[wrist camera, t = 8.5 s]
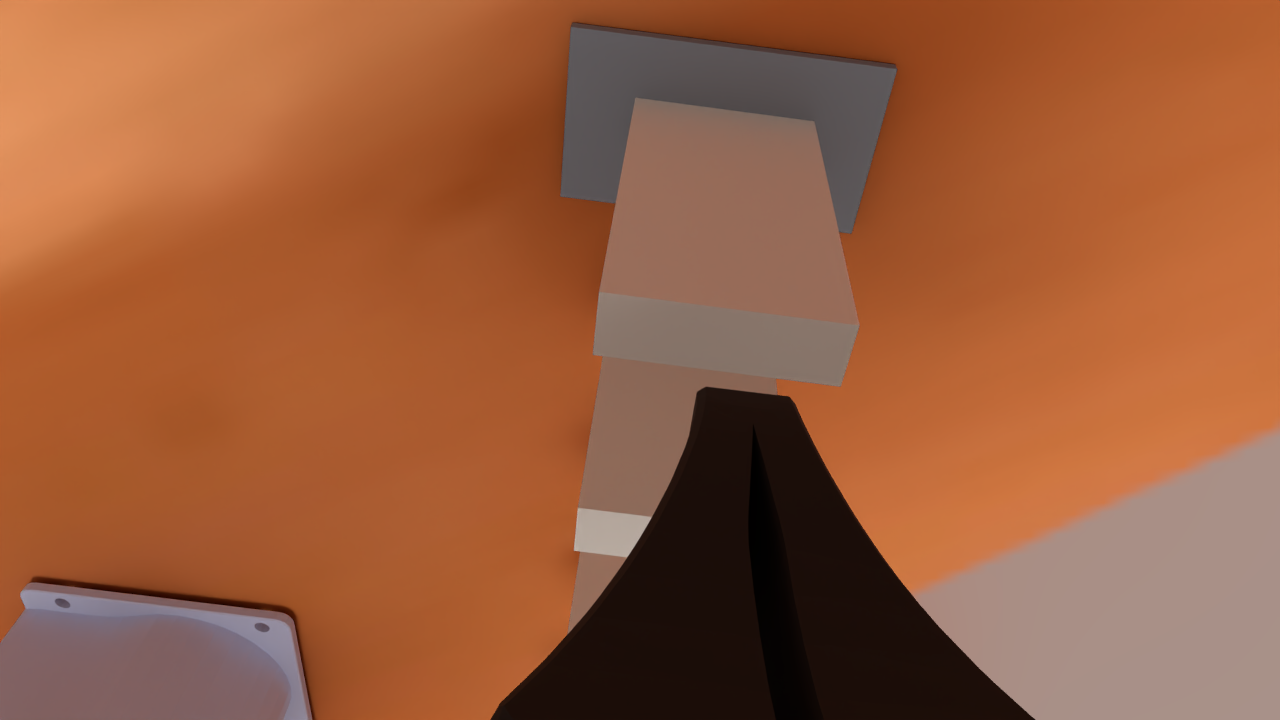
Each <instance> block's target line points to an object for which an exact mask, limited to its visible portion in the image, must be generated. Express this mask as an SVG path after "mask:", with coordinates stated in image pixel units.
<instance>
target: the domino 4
mask: <svg viewBox="0 0 1280 720" xmlns="http://www.w3.org/2000/svg"><path fill="white" fill-rule="evenodd" d="M704 387H714V388H722V389H731V390H739V391H747V392H755V393H764V394H772V395H777V384H776V378H769V377H761V376H753V375H746V374H738V373H730V372H722V371H714V370H707V369H699V368H691V367H683V366H676V365H668V364H660V363H652V362H644V361H637V360H629V359H621V358H613V357H605V356H603V358H602V365H601V371H600V377H599V383H598V389H597V395H596V401H595V407H594V413H593V419H592V425H591V431H590V437H589V444H588V450H587V456H586V462H585V468H584V474H583V480H582V486H581V492H580V498H579V504H578V512H577V523H576V533H575V544H574V551H580V552H588V553H596V554H604V555H612V556H621V557H628V555H629V554H630V552H631V551H632V549H633V548H634V546H635V545H636V543H637V541H638V540H639V538H640V537H641V535H642V533H643V532H644V530H645V528H646V527H647V525H648V523H649V521H650V520H651V518H652V516H653V514H654V512H655V510H656V508H657V506H658V505H659V503H660V501H661V499H662V497H663V495H664V493H665V491H666V489H667V488H668V485H669V483H670V481H671V479H672V477H673V475H674V472H675V470H676V468H677V465H678V463H679V460H680V458H681V456H682V453H683V451H684V449H685V446H686V443H687V440H688V437H689V432H690V427H691V421H692V416H693V410H694V405H695V399H696V393H697V391H699V390H701V389H702V388H704Z"/></svg>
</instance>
